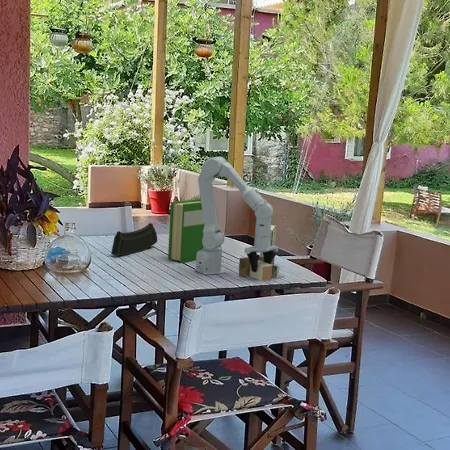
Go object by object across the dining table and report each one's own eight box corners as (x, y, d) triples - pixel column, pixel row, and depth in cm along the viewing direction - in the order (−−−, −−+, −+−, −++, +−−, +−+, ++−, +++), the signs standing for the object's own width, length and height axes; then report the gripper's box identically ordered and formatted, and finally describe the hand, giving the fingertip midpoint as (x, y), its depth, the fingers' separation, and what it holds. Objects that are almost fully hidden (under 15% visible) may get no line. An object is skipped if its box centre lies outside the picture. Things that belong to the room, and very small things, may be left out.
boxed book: (262, 281, 253) (263, 265, 252) (249, 276, 260) (250, 261, 259) (271, 280, 256) (272, 264, 255) (257, 275, 262) (258, 260, 261)
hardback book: (181, 263, 275) (184, 204, 271) (167, 260, 279) (170, 202, 275) (208, 257, 289) (212, 201, 285) (195, 254, 293) (198, 199, 289)
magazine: (114, 237, 274) (154, 208, 298) (108, 236, 275) (147, 208, 299) (120, 274, 281) (158, 244, 305) (113, 273, 282) (152, 243, 306)
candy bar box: (262, 263, 284) (265, 224, 282) (274, 264, 283) (277, 225, 281) (258, 268, 274) (261, 228, 271) (270, 270, 273) (273, 229, 270)
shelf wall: (240, 276, 258) (241, 258, 257) (238, 276, 259) (239, 258, 258) (269, 273, 266) (270, 256, 265) (267, 273, 267) (268, 255, 266)
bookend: (276, 278, 259) (277, 266, 259) (265, 274, 265) (265, 262, 264) (284, 277, 262) (285, 265, 261) (273, 273, 267) (273, 262, 266)
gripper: (253, 238, 248) (251, 274, 250) (284, 236, 256) (281, 271, 258) (242, 235, 254) (239, 270, 256) (272, 233, 262) (270, 267, 264)
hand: (260, 271), depth 258 cm, fingers open, 5 cm apart
